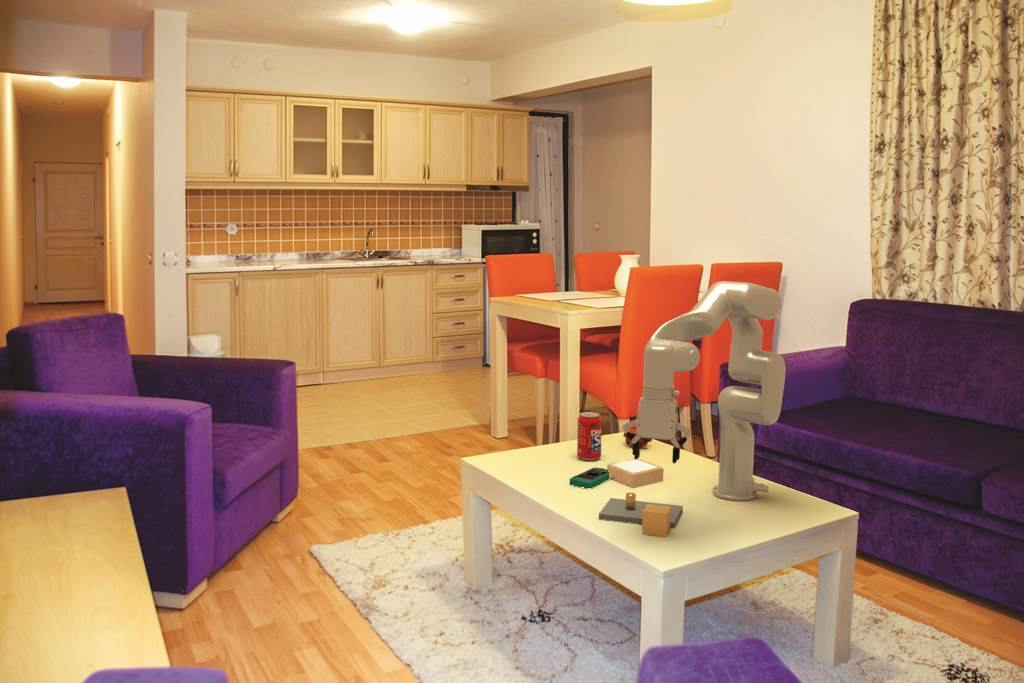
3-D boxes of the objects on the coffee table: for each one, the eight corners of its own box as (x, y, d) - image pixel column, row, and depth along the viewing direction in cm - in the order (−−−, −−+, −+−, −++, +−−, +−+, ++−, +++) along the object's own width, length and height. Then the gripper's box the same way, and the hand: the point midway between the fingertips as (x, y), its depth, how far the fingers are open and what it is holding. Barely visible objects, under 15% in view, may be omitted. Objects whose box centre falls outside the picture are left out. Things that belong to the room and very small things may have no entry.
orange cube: (669, 529, 234) (670, 506, 233) (665, 536, 228) (666, 513, 227) (646, 526, 235) (647, 504, 235) (642, 534, 230) (642, 511, 229)
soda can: (575, 455, 302) (575, 411, 300) (598, 455, 303) (599, 411, 301) (579, 462, 294) (580, 417, 292) (603, 461, 295) (604, 416, 293)
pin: (636, 507, 245) (636, 493, 245) (634, 510, 243) (634, 496, 242) (626, 506, 246) (627, 492, 246) (624, 509, 244) (625, 495, 243)
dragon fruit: (629, 445, 321) (646, 459, 310) (613, 434, 317) (629, 447, 306) (643, 426, 321) (661, 439, 310) (627, 414, 317) (644, 427, 306)
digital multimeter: (614, 479, 278) (614, 469, 277) (589, 491, 266) (590, 481, 265) (593, 474, 282) (594, 465, 282) (568, 486, 270) (568, 477, 270)
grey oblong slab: (682, 511, 247) (682, 505, 247) (674, 528, 234) (674, 522, 234) (610, 503, 254) (610, 497, 253) (598, 519, 241) (598, 513, 240)
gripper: (695, 393, 227) (692, 459, 230) (627, 388, 233) (625, 453, 236) (690, 399, 220) (687, 467, 223) (620, 393, 226) (618, 460, 229)
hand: (655, 460), depth 229 cm, fingers open, 9 cm apart
